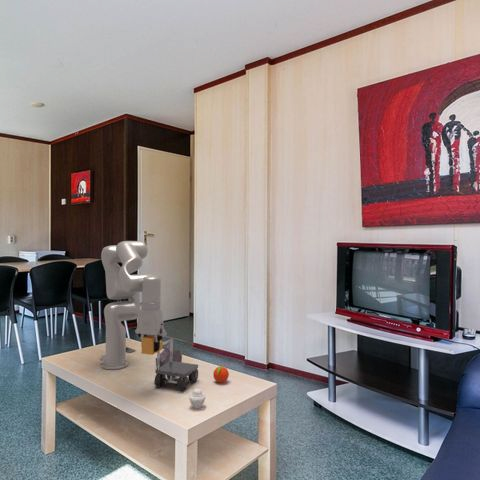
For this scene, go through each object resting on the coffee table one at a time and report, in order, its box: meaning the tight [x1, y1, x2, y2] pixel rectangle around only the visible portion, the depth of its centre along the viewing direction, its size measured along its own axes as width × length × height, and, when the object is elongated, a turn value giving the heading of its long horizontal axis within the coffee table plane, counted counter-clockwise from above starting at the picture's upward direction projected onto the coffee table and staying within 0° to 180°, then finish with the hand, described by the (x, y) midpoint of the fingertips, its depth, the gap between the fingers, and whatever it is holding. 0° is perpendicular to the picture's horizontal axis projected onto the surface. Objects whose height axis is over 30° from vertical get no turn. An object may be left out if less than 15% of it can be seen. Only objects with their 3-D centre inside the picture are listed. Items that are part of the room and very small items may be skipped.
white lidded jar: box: [188, 388, 206, 410], centre depth 147 cm, size 6×6×7 cm
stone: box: [155, 343, 183, 368], centre depth 195 cm, size 10×6×15 cm
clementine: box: [213, 366, 230, 383], centre depth 172 cm, size 8×7×7 cm
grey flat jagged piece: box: [126, 346, 136, 354], centre depth 220 cm, size 21×7×2 cm, turn 50°
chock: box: [141, 335, 164, 356], centre depth 160 cm, size 5×8×6 cm, turn 161°
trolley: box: [153, 338, 199, 392], centre depth 169 cm, size 14×16×18 cm
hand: (150, 349), depth 158 cm, fingers closed on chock, 5 cm apart
